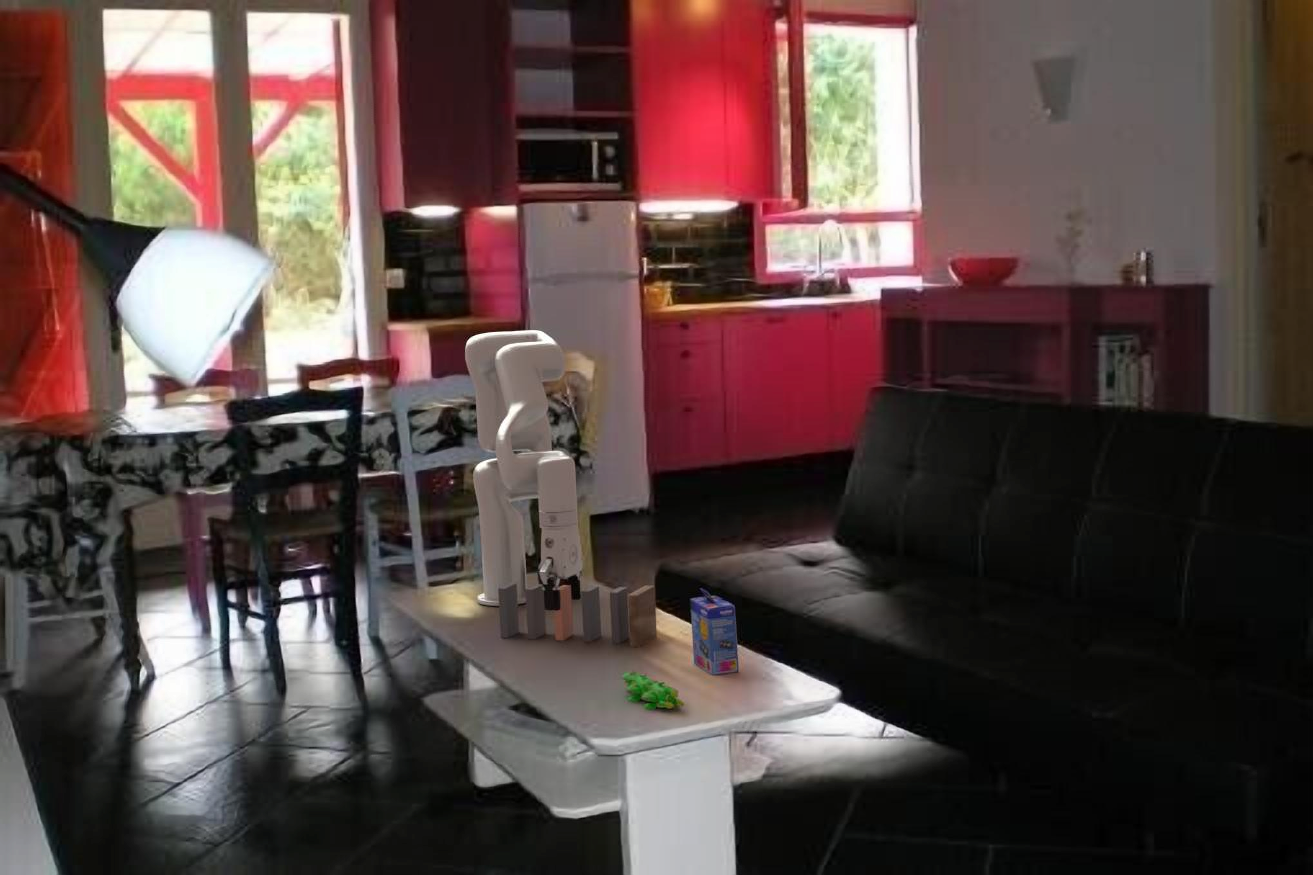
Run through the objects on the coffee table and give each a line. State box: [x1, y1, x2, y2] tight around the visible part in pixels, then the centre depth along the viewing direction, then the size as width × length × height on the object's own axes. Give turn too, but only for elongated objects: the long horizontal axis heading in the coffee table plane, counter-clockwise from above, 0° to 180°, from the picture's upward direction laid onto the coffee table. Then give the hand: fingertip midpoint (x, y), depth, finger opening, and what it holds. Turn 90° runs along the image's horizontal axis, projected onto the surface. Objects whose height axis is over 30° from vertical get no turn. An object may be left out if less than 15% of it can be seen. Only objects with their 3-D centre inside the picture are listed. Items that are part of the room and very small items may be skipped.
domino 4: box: [580, 585, 602, 643], centre depth 309 cm, size 2×5×10 cm, turn 159°
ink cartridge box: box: [689, 588, 740, 676], centre depth 283 cm, size 10×6×14 cm, turn 19°
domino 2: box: [525, 583, 547, 640], centre depth 314 cm, size 2×5×10 cm, turn 159°
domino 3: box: [553, 585, 574, 642], centre depth 312 cm, size 2×5×10 cm, turn 160°
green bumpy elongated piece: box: [621, 670, 684, 710], centre depth 263 cm, size 7×18×4 cm, turn 29°
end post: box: [627, 585, 658, 648], centre depth 305 cm, size 2×9×10 cm, turn 159°
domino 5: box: [609, 586, 630, 644], centre depth 307 cm, size 2×5×10 cm, turn 159°
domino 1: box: [498, 583, 520, 639], centre depth 316 cm, size 2×5×10 cm, turn 159°
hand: (563, 604), depth 311 cm, fingers open, 9 cm apart
